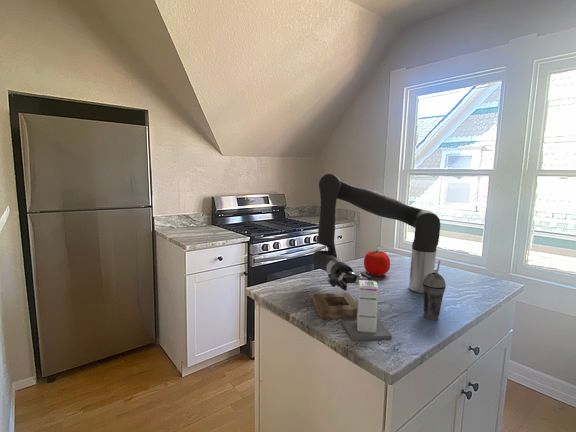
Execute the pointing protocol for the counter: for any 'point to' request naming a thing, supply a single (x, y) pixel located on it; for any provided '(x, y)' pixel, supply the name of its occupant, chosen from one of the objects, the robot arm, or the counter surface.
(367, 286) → the syrup box
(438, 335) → the counter surface
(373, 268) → the tomato
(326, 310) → the walnut socket stand
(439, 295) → the beverage cup
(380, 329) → the charcoal rubber mat
